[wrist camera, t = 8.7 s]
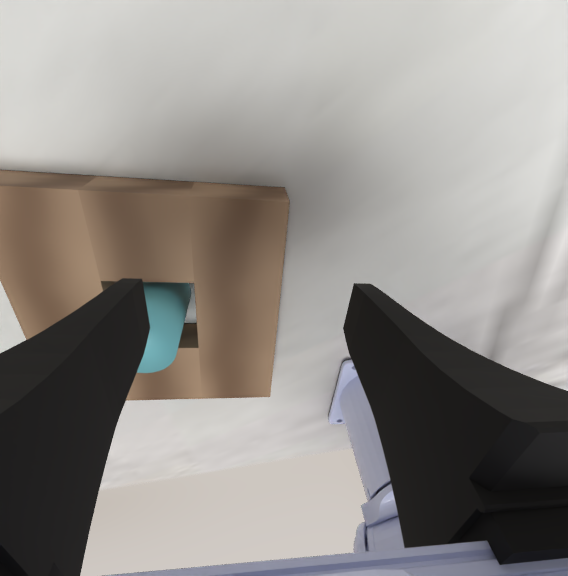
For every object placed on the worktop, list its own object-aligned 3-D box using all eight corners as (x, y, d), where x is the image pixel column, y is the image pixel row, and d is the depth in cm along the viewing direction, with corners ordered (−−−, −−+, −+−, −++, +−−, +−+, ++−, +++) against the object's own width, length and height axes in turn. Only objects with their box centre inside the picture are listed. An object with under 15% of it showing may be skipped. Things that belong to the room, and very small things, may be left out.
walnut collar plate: (284, 187, 19) (289, 201, 17) (267, 371, 27) (270, 396, 25) (-7, 169, 17) (-43, 183, 15) (70, 374, 25) (54, 402, 23)
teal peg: (192, 270, 21) (177, 325, 17) (189, 314, 23) (175, 374, 18) (132, 263, 20) (100, 318, 16) (134, 309, 22) (106, 370, 18)
